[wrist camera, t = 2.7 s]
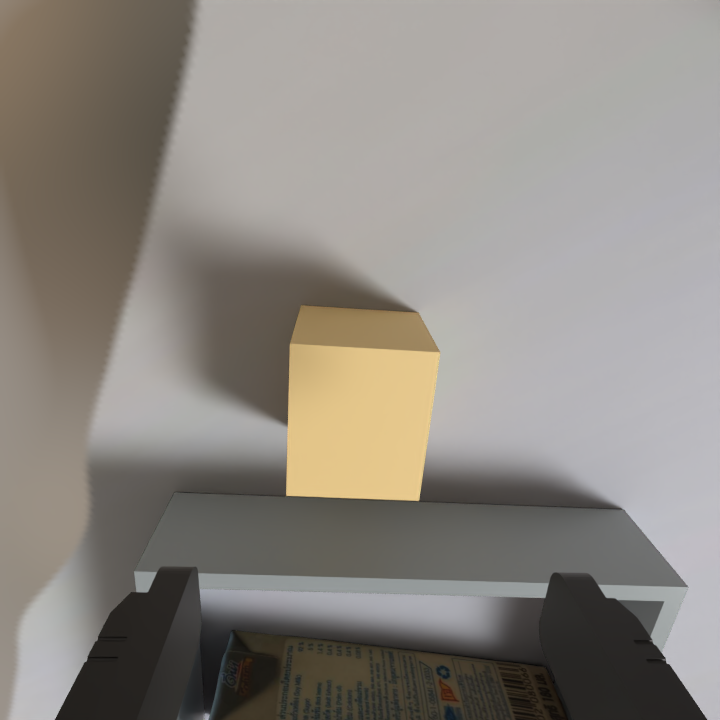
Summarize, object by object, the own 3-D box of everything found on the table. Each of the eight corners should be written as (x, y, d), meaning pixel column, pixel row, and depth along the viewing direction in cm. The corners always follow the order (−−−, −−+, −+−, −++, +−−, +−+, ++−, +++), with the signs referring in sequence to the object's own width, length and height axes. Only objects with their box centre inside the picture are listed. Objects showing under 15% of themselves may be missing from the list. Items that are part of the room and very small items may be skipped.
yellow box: (301, 304, 21) (289, 343, 16) (418, 312, 21) (440, 352, 16) (297, 429, 23) (286, 495, 18) (403, 434, 23) (418, 500, 18)
